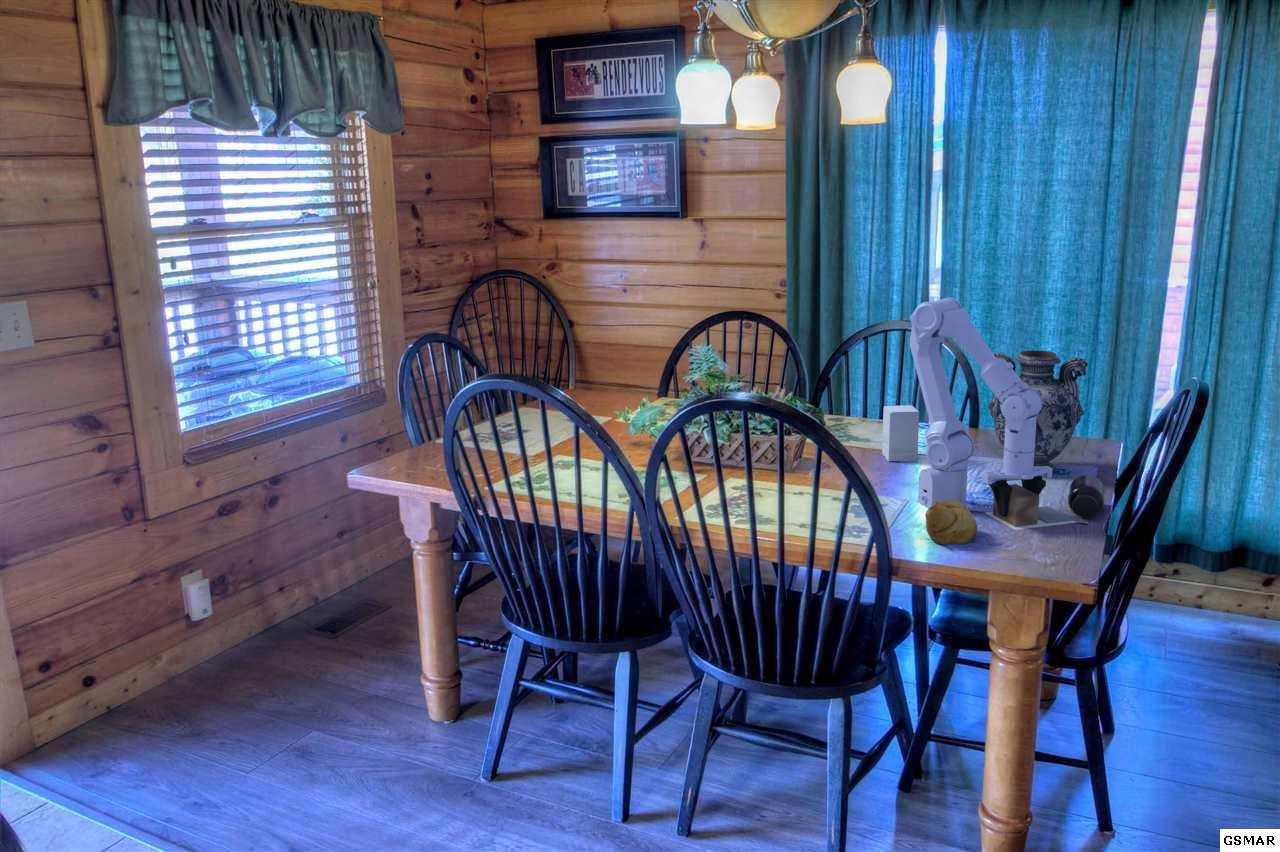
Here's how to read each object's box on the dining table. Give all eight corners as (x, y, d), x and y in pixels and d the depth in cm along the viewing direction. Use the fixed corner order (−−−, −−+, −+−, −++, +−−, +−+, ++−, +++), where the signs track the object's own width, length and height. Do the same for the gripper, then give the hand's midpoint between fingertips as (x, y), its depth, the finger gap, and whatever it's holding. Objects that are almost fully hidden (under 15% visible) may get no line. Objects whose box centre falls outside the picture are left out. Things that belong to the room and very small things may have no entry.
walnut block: (1015, 526, 205) (1017, 498, 203) (992, 514, 212) (994, 486, 211) (1037, 524, 206) (1039, 495, 204) (1014, 511, 213) (1015, 483, 212)
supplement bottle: (1065, 498, 219) (1061, 515, 209) (1076, 469, 217) (1073, 485, 206) (1098, 510, 217) (1096, 527, 206) (1110, 481, 215) (1108, 497, 204)
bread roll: (925, 524, 209) (926, 487, 207) (975, 528, 207) (977, 490, 205) (923, 547, 197) (925, 507, 195) (977, 551, 195) (979, 510, 193)
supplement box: (918, 461, 253) (920, 411, 250) (887, 462, 253) (889, 412, 250) (911, 453, 260) (912, 404, 257) (881, 454, 260) (883, 405, 257)
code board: (1014, 532, 203) (1015, 529, 203) (984, 515, 213) (984, 512, 213) (1077, 525, 206) (1077, 522, 206) (1043, 508, 217) (1043, 505, 216)
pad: (1047, 523, 206) (1047, 522, 206) (1021, 510, 214) (1022, 508, 214) (1073, 520, 207) (1073, 519, 207) (1047, 507, 215) (1047, 505, 215)
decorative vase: (1081, 462, 248) (1089, 347, 240) (1078, 485, 231) (1086, 363, 224) (988, 454, 256) (994, 343, 249) (979, 476, 240) (984, 358, 233)
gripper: (998, 458, 200) (994, 524, 203) (1063, 451, 203) (1058, 516, 206) (978, 448, 207) (974, 513, 210) (1041, 442, 210) (1037, 505, 213)
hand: (1015, 514), depth 209 cm, fingers closed on walnut block, 5 cm apart
